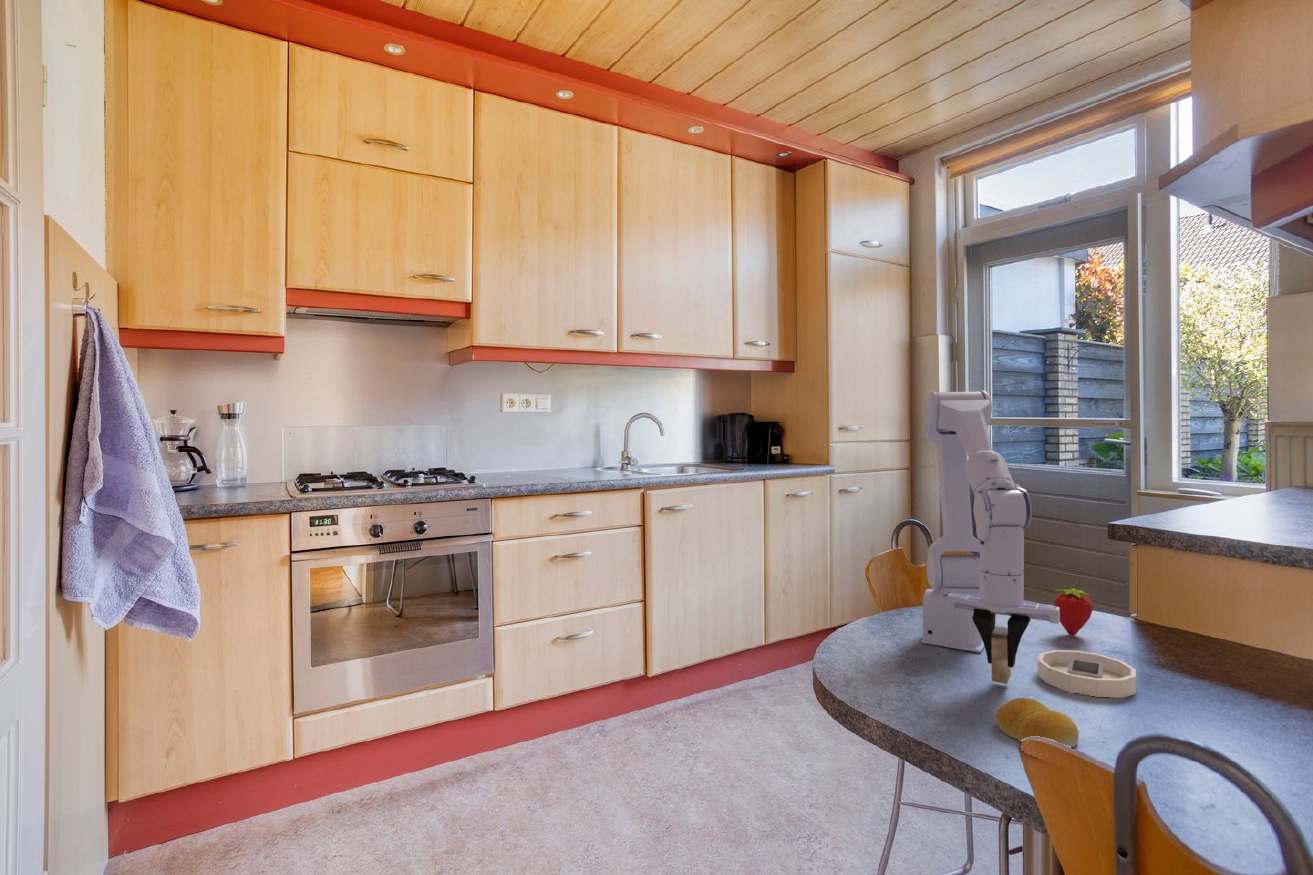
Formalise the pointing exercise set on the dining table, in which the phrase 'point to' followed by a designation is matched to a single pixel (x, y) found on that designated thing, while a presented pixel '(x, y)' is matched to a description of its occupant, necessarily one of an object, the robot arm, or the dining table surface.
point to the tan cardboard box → (1000, 655)
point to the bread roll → (1035, 722)
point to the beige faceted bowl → (1087, 673)
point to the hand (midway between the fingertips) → (1001, 663)
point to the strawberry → (1073, 609)
